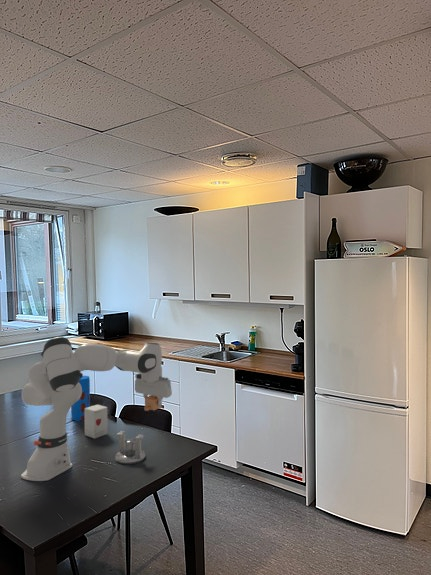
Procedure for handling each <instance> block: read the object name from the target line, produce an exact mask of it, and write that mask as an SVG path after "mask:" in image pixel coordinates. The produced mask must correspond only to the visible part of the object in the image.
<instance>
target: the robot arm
mask: <svg viewBox="0 0 431 575" xmlns="http://www.w3.org/2000/svg"><path fill="white" fill-rule="evenodd" d="M72 347H73V346H72V344H71V341H70V340H69V339H68V338H67V337H64V336H55V337H53V338H49V339H48V340H47V341H46V342H45V344H44V346H43V349H42V352H41V353H40V356H42V360H41V361H38V362H36V363H34V364H33V365H31V366H30V369H29V370H28V380H29V381H28V383H26V384H25V385H24V387H23V388H22V390H21V399H22V401H23V403H24V404H25V405H27V406H33V407H34V406H35V407H40V406H41V407H42V406H43V407H44V406H53V409H52V410H51V409H50V411H47V412H46V413H44V414H43V415H42V416H41V418H40V419H39V436H38V440H36V439H35V440H34V441H33V445H34V446H36V447H35V449H34V451H33V453H32V455H31V456H30V458H29V459H28V461H27V463H26V465H27V466H26V469H25V471H23V472H22V473H21V475H20V478H21V479H23V480H26V481H32V482H44V481H50V480H51V479H53V478H55V477H57V476H59V475H60V474H62V473H64V472H66V471H67V470H69V469H71V468H72V467H73V463H72V462H71V456H70V448H69V446H68V443H67V441H68V435H67V434H68V433H67V425H66V424H67V415H68V413H69V411H70V409H71V406H72V405H73V404H74V403H76V402H77V401H78V400H79V399H80V397H81V394H82V387H81V385H80V383H79V380H80V379H81V378H82V376H84V375H83V373H82V372H84V371H91V372H108V371H111V370H113V369H114V367H116V368H117V369H118V370H120V371H122V372H131V373H136V374H135V376H134V377H135V380H134V391H135V392H136V393H139V394H142V396H143V399H145V398H147V397H149V396H150V395H153V396H158V399H159V401H157V405H159V406H160V405H161V402H162V401H163V399H165V398H166V399H167V398H170V397H171V396H172V384H171V380H170V379H169V378H168V377H164V376H163V367H162V361H163V356H162V355H163V354H162V346H161V344H160V343H157V342H145V343H144V345H143V347H142V349H141V350H139V351H135V350H130V349H122V350H119V351H118V352H117V351H116V349H115V348H113V347H111V346H108V345H105V344H101V343H86V344H81V345H79V346H77V348H76V349H75V350H74V351H73V348H72ZM161 406H162V405H161Z"/></svg>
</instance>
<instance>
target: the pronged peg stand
mask: <svg viewBox="0 0 431 575" xmlns="http://www.w3.org/2000/svg"><path fill="white" fill-rule="evenodd" d="M116 437H117V438H119V451H118V452H117V453H116V454H115V455H114V460H115V462H116V463H118V464H120V465H121V464H122V465H133V464H137V463H141V462H143V460H145V458H146V452H145V451H144V450H143V449H142V439H143V438H144V434H140V433H139V434H138V435H136V437H134V438H128V439H126V431H125V430H120V431H119V432H117V433H116Z"/></svg>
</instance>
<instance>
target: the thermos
mask: <svg viewBox="0 0 431 575" xmlns="http://www.w3.org/2000/svg"><path fill="white" fill-rule="evenodd" d="M79 383H80V385H81V387H82V394H81V397H80V399H79V400H78V401H77V402H76V403H74V404H73V405H72V406H71V408H70V409H71V420H72V421H73V420H75V421H74V422H81V421H80V420H84V421H85V408H87V407H91V392H90V391H91V389H90V388H91V387H90V386H91V383H90V376H89V375H83V376H82V378H81V379H80V380H79Z"/></svg>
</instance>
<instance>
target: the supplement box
mask: <svg viewBox="0 0 431 575" xmlns="http://www.w3.org/2000/svg"><path fill="white" fill-rule="evenodd" d="M105 435H108V406H104V405H101V404H95V405H90V407H87V408H85V420H84V436H87V437H89V438H92V439H94V440H95V439H98V438H100V437H104V436H105Z"/></svg>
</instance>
